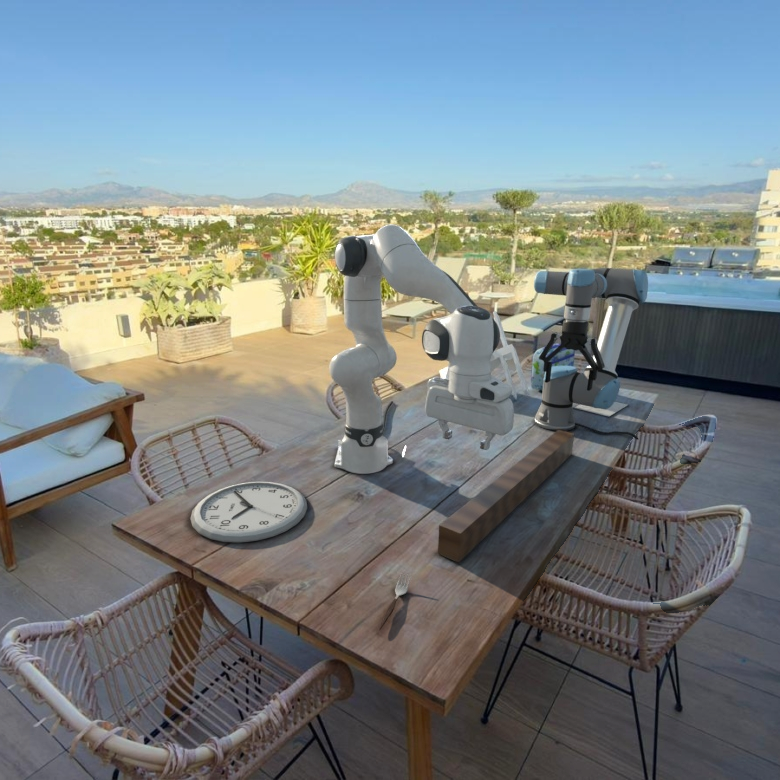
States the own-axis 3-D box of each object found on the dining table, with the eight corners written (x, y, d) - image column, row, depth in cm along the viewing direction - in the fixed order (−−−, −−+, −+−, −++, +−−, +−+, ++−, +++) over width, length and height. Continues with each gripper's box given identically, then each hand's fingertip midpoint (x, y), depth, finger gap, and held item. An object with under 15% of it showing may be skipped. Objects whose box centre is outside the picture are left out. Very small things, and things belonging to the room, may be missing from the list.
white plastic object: (461, 429, 252) (437, 405, 227) (444, 352, 274) (420, 323, 250) (535, 404, 240) (518, 377, 215) (510, 326, 262) (492, 293, 237)
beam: (555, 450, 181) (558, 429, 179) (571, 454, 178) (574, 433, 176) (437, 553, 122) (439, 525, 120) (458, 562, 119) (460, 533, 117)
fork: (373, 630, 99) (373, 621, 98) (400, 579, 113) (400, 571, 112) (386, 633, 98) (386, 625, 97) (412, 582, 112) (412, 574, 112)
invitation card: (608, 416, 214) (573, 407, 224) (608, 416, 214) (573, 408, 224) (628, 404, 229) (594, 396, 238) (628, 405, 229) (594, 397, 238)
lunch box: (547, 395, 239) (552, 351, 233) (526, 390, 247) (530, 347, 240) (574, 384, 257) (579, 343, 251) (554, 380, 264) (558, 339, 258)
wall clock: (302, 534, 126) (174, 538, 123) (303, 540, 126) (175, 544, 124) (310, 477, 154) (206, 479, 152) (310, 482, 155) (206, 484, 152)
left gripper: (420, 378, 115) (418, 436, 119) (506, 396, 104) (501, 460, 108) (435, 372, 120) (433, 428, 124) (519, 389, 108) (513, 450, 113)
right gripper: (532, 317, 166) (526, 380, 173) (614, 326, 152) (604, 395, 159) (541, 314, 172) (535, 376, 179) (621, 323, 158) (611, 390, 164)
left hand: (465, 443), depth 116 cm, fingers open, 8 cm apart
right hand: (567, 385), depth 169 cm, fingers open, 13 cm apart
